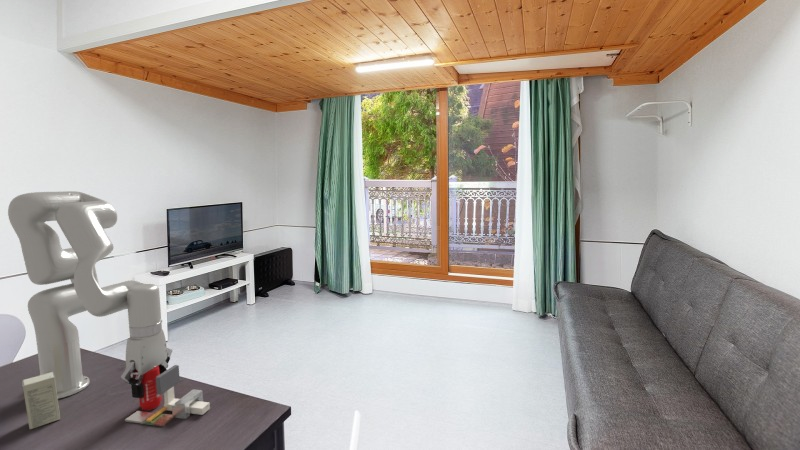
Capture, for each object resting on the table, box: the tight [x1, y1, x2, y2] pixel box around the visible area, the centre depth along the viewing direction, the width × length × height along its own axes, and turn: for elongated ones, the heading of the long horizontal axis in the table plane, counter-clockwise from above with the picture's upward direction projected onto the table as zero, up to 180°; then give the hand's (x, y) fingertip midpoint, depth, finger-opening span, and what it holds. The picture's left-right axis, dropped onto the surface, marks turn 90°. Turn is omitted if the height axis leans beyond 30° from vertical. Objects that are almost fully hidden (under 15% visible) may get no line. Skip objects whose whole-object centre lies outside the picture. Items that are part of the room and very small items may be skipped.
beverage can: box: [136, 365, 162, 411], centre depth 111 cm, size 5×5×12 cm
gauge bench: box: [124, 389, 204, 427], centre depth 108 cm, size 15×11×4 cm
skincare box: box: [22, 372, 61, 430], centre depth 104 cm, size 6×4×12 cm
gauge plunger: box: [146, 364, 211, 422], centre depth 107 cm, size 12×11×11 cm
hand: (150, 388), depth 111 cm, fingers open, 7 cm apart
